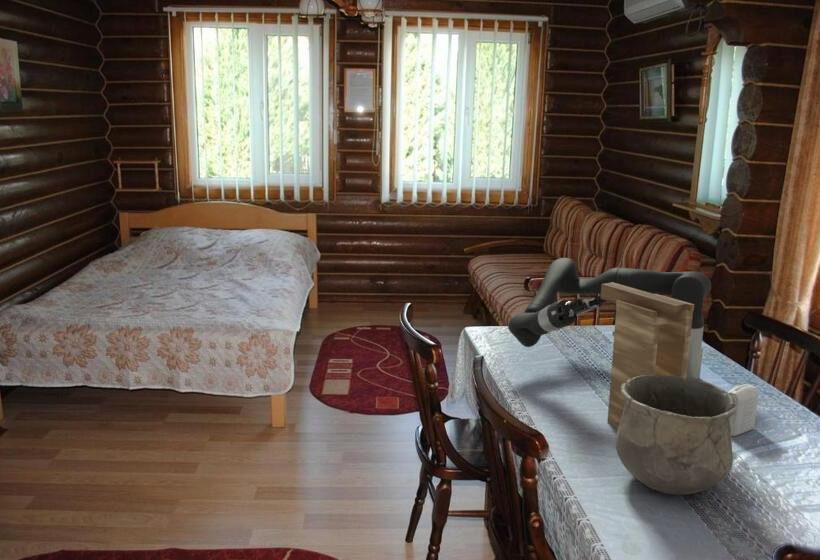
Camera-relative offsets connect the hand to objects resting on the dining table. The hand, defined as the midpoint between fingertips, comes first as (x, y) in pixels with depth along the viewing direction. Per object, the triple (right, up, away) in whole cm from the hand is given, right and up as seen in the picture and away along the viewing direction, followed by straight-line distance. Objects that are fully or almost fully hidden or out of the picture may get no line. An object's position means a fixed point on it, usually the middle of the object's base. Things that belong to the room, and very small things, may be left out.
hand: (593, 299), depth 186 cm
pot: (+8, -40, -33) cm, 52 cm away
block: (+8, -2, -13) cm, 16 cm away
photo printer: (+35, -34, -8) cm, 49 cm away
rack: (+12, -33, -5) cm, 35 cm away
